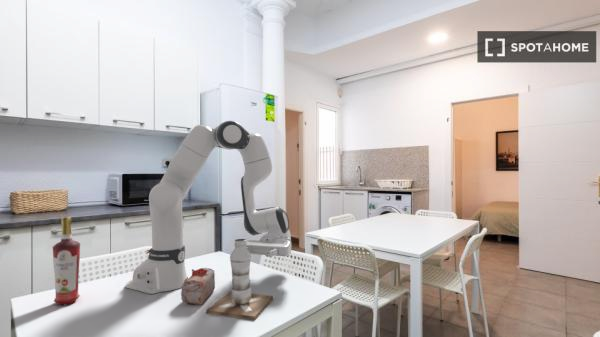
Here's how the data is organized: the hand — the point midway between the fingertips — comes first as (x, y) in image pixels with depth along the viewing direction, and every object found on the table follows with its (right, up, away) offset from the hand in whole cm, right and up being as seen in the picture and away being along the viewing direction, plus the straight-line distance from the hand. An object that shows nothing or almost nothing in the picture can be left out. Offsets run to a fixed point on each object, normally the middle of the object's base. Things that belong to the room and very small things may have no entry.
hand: (256, 253), depth 112 cm
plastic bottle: (-3, -13, -12) cm, 18 cm away
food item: (-19, -14, -5) cm, 24 cm away
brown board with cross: (-3, -14, -11) cm, 18 cm away
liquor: (-61, -14, -8) cm, 64 cm away
